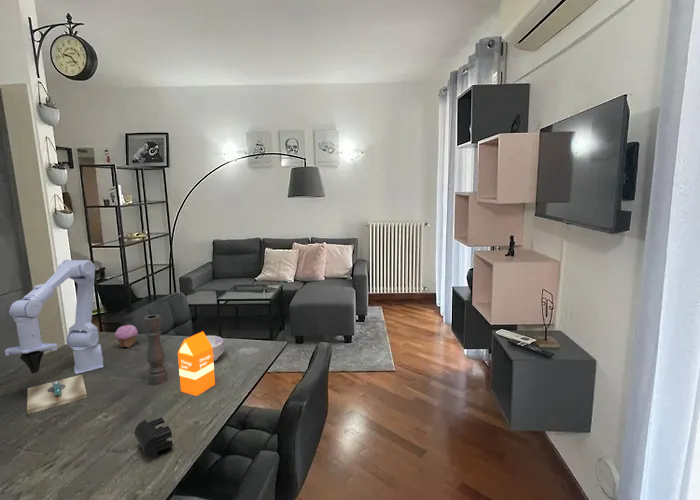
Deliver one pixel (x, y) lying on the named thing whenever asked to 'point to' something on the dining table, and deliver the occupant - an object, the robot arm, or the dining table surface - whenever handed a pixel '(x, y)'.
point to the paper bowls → (216, 346)
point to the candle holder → (155, 350)
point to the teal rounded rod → (56, 387)
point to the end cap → (154, 438)
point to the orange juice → (196, 364)
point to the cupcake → (126, 335)
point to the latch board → (46, 398)
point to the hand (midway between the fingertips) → (35, 371)
